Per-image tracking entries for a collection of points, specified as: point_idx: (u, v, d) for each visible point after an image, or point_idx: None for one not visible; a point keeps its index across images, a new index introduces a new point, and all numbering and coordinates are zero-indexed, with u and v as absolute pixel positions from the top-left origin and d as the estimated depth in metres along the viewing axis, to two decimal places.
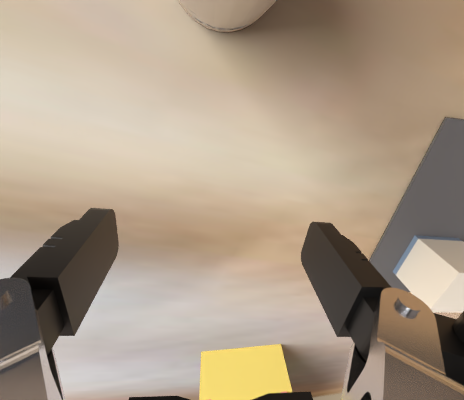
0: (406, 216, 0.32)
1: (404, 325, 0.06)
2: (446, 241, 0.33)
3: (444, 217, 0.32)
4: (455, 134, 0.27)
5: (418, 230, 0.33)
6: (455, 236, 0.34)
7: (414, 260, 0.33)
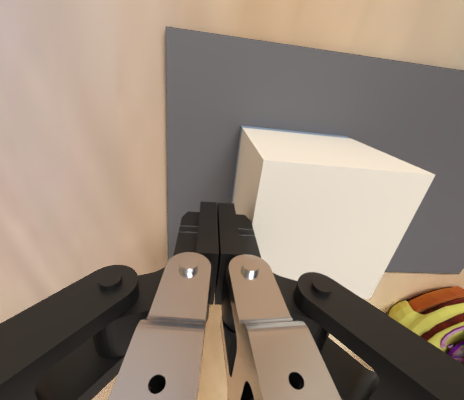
0: (405, 95, 0.15)
1: (233, 283, 0.06)
2: None
3: None
4: None
5: (357, 139, 0.16)
6: None
7: (315, 138, 0.14)
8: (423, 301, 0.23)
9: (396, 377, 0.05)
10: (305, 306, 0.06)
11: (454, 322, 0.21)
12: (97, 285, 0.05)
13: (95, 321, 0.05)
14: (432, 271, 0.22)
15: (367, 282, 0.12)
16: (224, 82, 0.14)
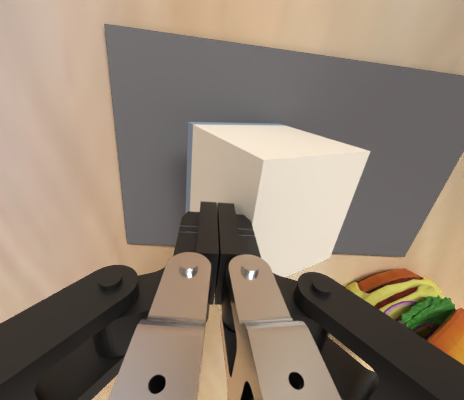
0: (329, 86, 0.16)
1: (233, 283, 0.06)
2: None
3: None
4: None
5: (290, 126, 0.17)
6: None
7: (263, 129, 0.14)
8: (369, 281, 0.24)
9: (396, 377, 0.05)
10: (305, 306, 0.06)
11: (393, 299, 0.22)
12: (97, 285, 0.05)
13: (95, 321, 0.05)
14: (378, 253, 0.24)
15: (328, 245, 0.14)
16: (162, 74, 0.15)
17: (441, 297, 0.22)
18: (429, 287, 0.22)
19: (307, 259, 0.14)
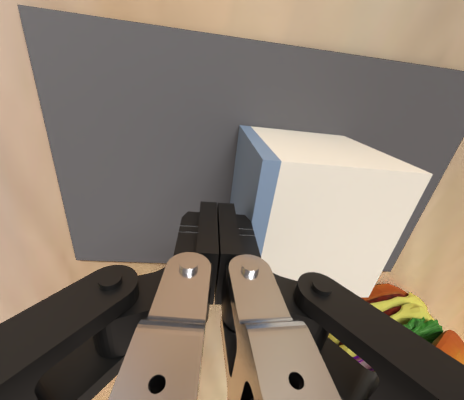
0: (295, 81, 0.14)
1: (233, 283, 0.06)
2: None
3: None
4: (456, 107, 0.15)
5: None
6: None
7: (282, 138, 0.12)
8: None
9: (396, 377, 0.05)
10: (305, 306, 0.06)
11: None
12: (97, 285, 0.05)
13: (95, 321, 0.05)
14: None
15: None
16: (95, 66, 0.13)
17: (427, 318, 0.19)
18: (414, 306, 0.20)
19: None
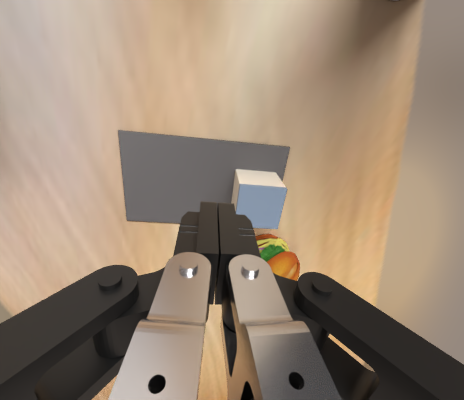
0: (213, 150, 0.39)
1: (233, 283, 0.06)
2: (235, 207, 0.37)
3: (212, 182, 0.41)
4: (278, 158, 0.40)
5: (199, 166, 0.40)
6: (193, 199, 0.42)
7: (257, 182, 0.36)
8: None
9: (396, 377, 0.05)
10: (305, 306, 0.06)
11: None
12: (97, 285, 0.05)
13: (95, 321, 0.05)
14: None
15: None
16: (141, 147, 0.37)
17: (279, 246, 0.44)
18: (274, 241, 0.44)
19: None
